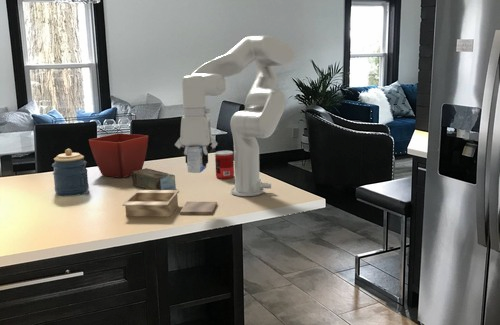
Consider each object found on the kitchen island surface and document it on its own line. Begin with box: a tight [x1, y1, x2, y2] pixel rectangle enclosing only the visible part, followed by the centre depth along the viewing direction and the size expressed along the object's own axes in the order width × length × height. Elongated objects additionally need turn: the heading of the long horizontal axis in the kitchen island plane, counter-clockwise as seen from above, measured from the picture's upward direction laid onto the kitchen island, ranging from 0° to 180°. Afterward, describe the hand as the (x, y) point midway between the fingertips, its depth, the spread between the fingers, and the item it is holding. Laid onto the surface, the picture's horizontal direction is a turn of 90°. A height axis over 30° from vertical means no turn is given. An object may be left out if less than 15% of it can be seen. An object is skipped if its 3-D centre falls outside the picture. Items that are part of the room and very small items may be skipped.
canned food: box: [214, 150, 235, 180], centre depth 233 cm, size 8×8×11 cm
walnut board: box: [179, 201, 218, 216], centre depth 189 cm, size 11×12×1 cm
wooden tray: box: [122, 189, 180, 217], centre depth 188 cm, size 15×18×5 cm
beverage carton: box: [131, 167, 177, 190], centre depth 220 cm, size 8×19×7 cm, turn 48°
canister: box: [51, 148, 90, 197], centre depth 213 cm, size 13×13×18 cm
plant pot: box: [88, 132, 149, 179], centre depth 243 cm, size 19×19×17 cm
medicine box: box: [186, 146, 207, 174], centre depth 185 cm, size 8×4×9 cm, turn 169°
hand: (197, 164), depth 185 cm, fingers closed on medicine box, 4 cm apart
